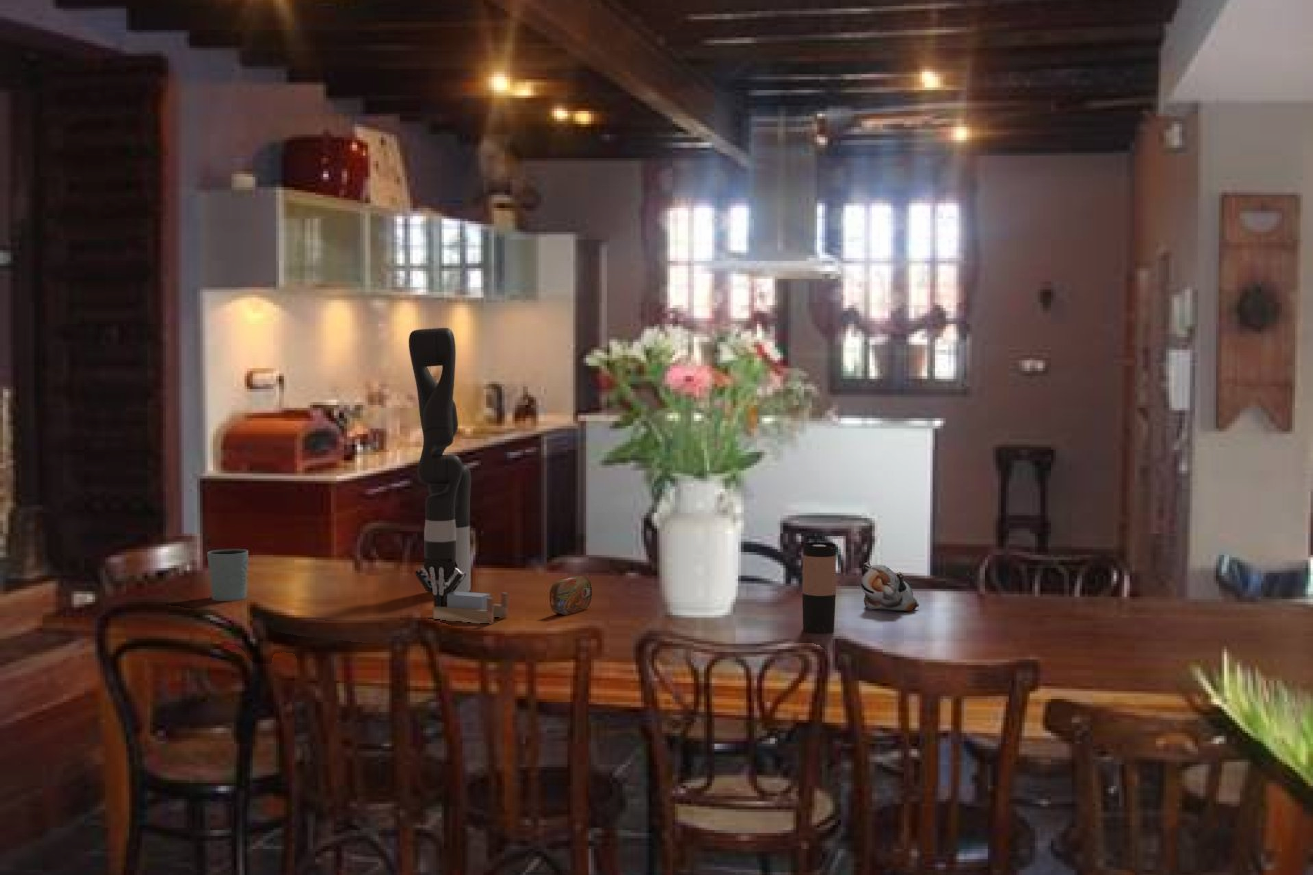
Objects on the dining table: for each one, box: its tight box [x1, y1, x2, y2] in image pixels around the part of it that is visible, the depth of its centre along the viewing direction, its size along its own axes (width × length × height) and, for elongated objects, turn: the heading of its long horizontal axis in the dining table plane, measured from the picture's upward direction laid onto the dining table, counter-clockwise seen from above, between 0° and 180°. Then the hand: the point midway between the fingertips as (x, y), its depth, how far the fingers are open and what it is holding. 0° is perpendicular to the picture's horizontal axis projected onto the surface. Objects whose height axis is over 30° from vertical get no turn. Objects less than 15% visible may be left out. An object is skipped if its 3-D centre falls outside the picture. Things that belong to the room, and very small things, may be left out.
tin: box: [549, 575, 593, 616], centre depth 374 cm, size 15×3×8 cm, turn 148°
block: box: [447, 591, 491, 610], centre depth 365 cm, size 4×9×6 cm, turn 70°
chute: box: [432, 592, 509, 625], centre depth 364 cm, size 9×15×6 cm, turn 70°
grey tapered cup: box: [206, 548, 249, 602], centre depth 390 cm, size 10×10×12 cm
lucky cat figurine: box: [860, 562, 920, 613], centre depth 379 cm, size 15×12×14 cm
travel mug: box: [801, 541, 837, 634], centre depth 353 cm, size 8×8×20 cm
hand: (440, 610), depth 367 cm, fingers closed
